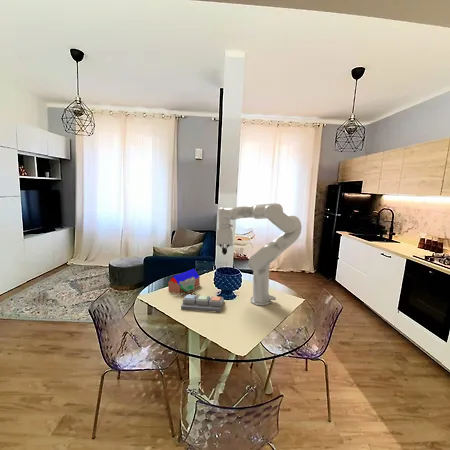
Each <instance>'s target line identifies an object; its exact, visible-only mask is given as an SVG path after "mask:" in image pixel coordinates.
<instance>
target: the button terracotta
mask: <svg viewBox="0 0 450 450" xmlns="http://www.w3.org/2000/svg"><path fill="white" fill-rule="evenodd" d="M211 297H212V296H211ZM221 297H222V296H213V297H212V299H211V301H218V302H220V301H221Z"/></svg>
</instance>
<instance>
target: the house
mask: <svg viewBox="0 0 450 450" xmlns="http://www.w3.org/2000/svg"><path fill="white" fill-rule="evenodd" d="M192 276H193V277H194V278H195V283H194V287H195V288H197V287H199V286H198V285H201V284H200V282H201V280H200V277H201V276H200V275H199V273H198V272H197V271H196V270H195V268H192V269H189V270H187V271H184V272H181V273H178V274H176V275H172V277H171V278H169V279H168V281H167V285H168V287H167V289H168V291H170V292H173V293H175V294H177V293H179V294H178V295H181V287H180V284H179V283H180V281H184V280H186V279H190V278H192ZM196 286H197V287H196Z"/></svg>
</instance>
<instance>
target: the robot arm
mask: <svg viewBox="0 0 450 450" xmlns="http://www.w3.org/2000/svg"><path fill="white" fill-rule="evenodd" d="M245 218H246V219H248V218H252V219H255V220H260V219H261V220H266V219H267V220H268V221H269V222H271V223H272V224H273V225H274V226H275V227H277V229H279V230H280V231H282V233H281V234H280V235H278V236H277V237H276V238H275V239H273V240H272V241H270V242H268V243H266V244H265V245H263V246H262V247H261V248H260V249H259V250H257V251H255V253H254V254H253V255H251V256H250V257H249V259H248V262H247V264H248V265H247V266H248V267H249V269H250V270H251V271H253V273H252V276H253V277H252V282H253V283H252V296H251V297H250V303H252V304H253V305H256V306H267V305H270V304H271V302H272V301H276V299H277V297H276V296H274V295H270V293H269V291H270V290H269V288H270V287H269V286H270V283H269V282H270V281H269V280H270V279H269V278H270V267H271V264H272V263H273V262H274V261H275V260H276V259H277V258H278V257H279V256H281V254H282V253H283V252H285V251H286V250H287V249H288V248H290V247H291V246H292V245H293V244H294V243H296V241H297V240H298V239H299V237H300V235H301V233H302V227H303V226H302V222H301V220H300V218H299V217H298V216H296V215H289V216H288V214H287V213H285V212H284V208H283V206H282V204H280V203H276V202H275V203H274V202H273V203H263V204H254V205H247V206H246V205H245V206H235V207H227V206H221V207H219V208H218V227H217V231H216V243H215V245H216V246H219V247H220V248H221V253H222V255H224V256H225V255H227V254H228V248H229V247H232V246H234V245H233V240H234V239H233V238H234V237H233V230H232V228H233V224H231V221H235V220H236V221H237V220H240V219H245Z"/></svg>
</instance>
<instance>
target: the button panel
mask: <svg viewBox="0 0 450 450" xmlns="http://www.w3.org/2000/svg"><path fill="white" fill-rule="evenodd" d="M194 295H195V298H194V300H190V299H185V297H186V296H187V295H186V296H184V297H183V299H182V304H181V305H180V310H184V311H185V310H186V311H199V312H209V311H216V312H215V313H221V311H220V310H222V308H223V305H224V303H223V302H225V299H224V297H223V296H220V297H221V301H220V302H218V301H211V299H212V297H213V296H212V295H211V296H210V295H207V296H208V299H207V301H204V300H198V298H199V296H200V295H196V294H194ZM221 307H222V308H221Z"/></svg>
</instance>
